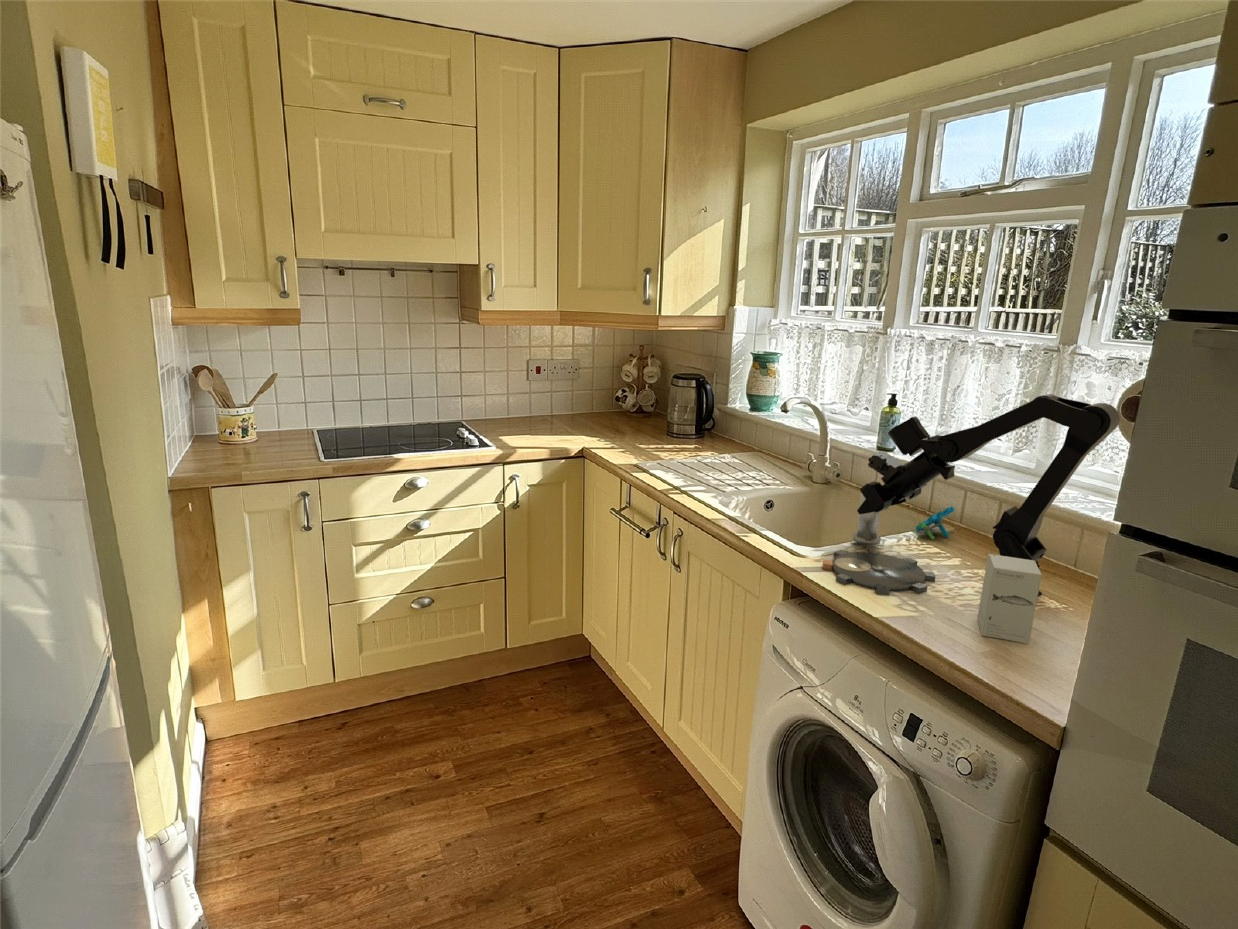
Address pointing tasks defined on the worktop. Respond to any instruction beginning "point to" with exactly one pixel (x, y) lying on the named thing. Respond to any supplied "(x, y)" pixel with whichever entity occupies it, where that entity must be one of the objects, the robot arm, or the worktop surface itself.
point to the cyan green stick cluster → (935, 522)
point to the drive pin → (867, 527)
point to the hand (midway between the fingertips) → (863, 510)
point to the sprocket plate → (879, 572)
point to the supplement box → (1009, 598)
